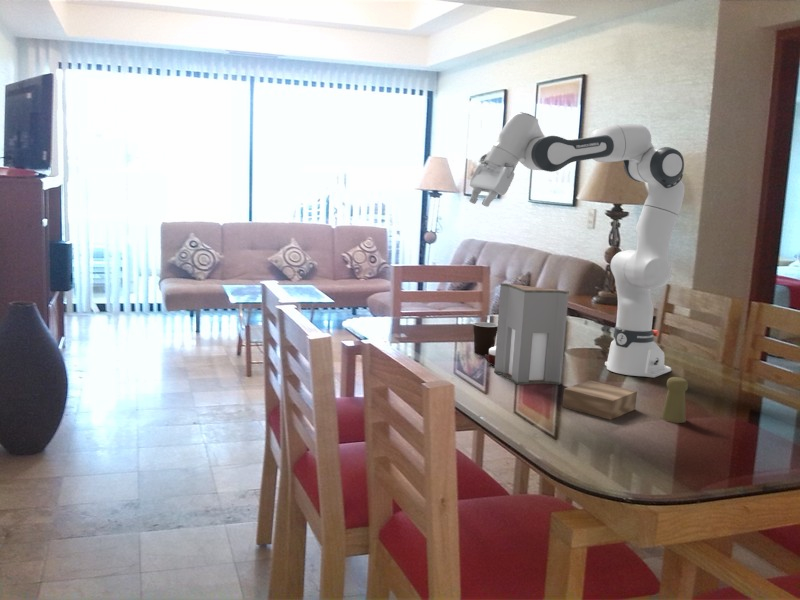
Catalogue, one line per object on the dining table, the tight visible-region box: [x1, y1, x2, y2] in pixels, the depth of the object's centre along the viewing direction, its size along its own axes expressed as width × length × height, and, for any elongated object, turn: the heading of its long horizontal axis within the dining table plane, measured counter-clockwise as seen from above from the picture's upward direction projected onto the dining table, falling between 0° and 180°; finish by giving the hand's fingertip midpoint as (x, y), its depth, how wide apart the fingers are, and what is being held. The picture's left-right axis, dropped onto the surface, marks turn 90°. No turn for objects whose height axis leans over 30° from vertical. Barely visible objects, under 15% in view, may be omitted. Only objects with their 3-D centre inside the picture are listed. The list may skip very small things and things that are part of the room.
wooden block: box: [562, 380, 638, 421], centre depth 204 cm, size 14×14×5 cm
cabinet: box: [493, 282, 570, 386], centre depth 227 cm, size 21×10×28 cm, turn 59°
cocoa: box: [485, 345, 496, 366], centre depth 247 cm, size 10×6×12 cm, turn 96°
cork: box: [660, 376, 689, 424], centre depth 197 cm, size 6×6×11 cm
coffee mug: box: [472, 321, 498, 356], centre depth 264 cm, size 12×9×10 cm
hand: (478, 204), depth 225 cm, fingers open, 8 cm apart
